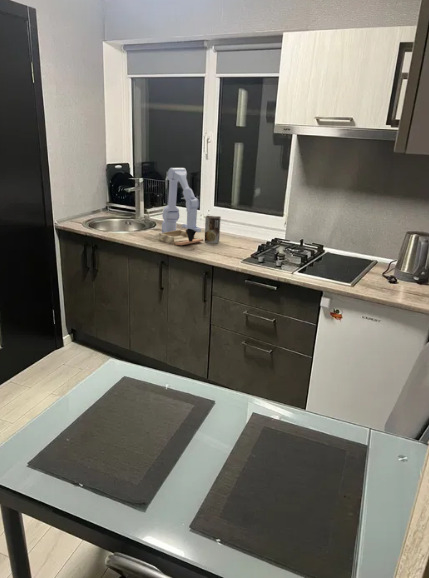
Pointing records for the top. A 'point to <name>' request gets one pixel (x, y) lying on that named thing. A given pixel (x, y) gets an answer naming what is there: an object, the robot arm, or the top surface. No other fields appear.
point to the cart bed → (174, 236)
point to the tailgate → (188, 242)
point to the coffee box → (212, 229)
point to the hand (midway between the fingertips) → (190, 241)
